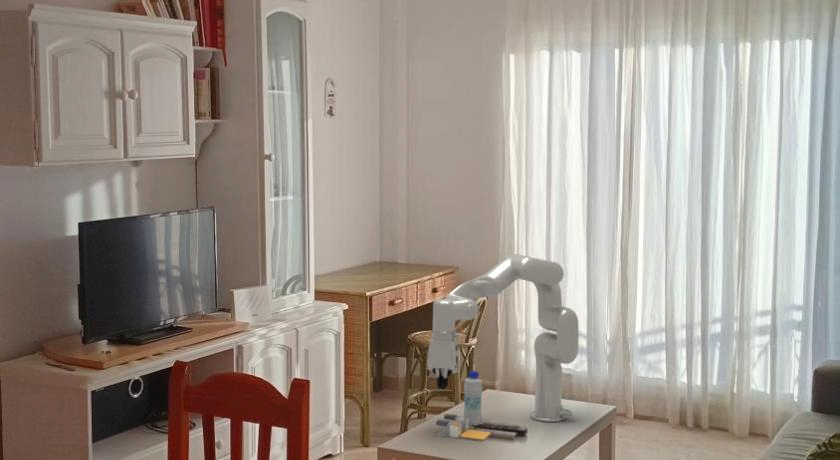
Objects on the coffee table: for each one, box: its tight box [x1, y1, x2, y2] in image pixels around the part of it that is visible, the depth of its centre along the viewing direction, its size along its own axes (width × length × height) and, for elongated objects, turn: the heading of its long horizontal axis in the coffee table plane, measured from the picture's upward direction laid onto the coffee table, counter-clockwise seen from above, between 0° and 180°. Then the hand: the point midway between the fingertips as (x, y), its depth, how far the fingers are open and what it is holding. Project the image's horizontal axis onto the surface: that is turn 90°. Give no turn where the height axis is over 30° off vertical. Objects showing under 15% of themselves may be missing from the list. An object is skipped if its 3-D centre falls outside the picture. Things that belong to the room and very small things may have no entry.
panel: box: [434, 416, 493, 443], centre depth 354 cm, size 17×13×6 cm
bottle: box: [463, 370, 483, 427], centre depth 366 cm, size 7×7×20 cm
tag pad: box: [460, 429, 492, 441], centre depth 353 cm, size 8×8×1 cm
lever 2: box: [443, 413, 461, 421], centre depth 359 cm, size 5×3×1 cm, turn 69°
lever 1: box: [435, 418, 453, 427], centre depth 352 cm, size 5×3×1 cm, turn 69°
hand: (442, 388), depth 351 cm, fingers closed
